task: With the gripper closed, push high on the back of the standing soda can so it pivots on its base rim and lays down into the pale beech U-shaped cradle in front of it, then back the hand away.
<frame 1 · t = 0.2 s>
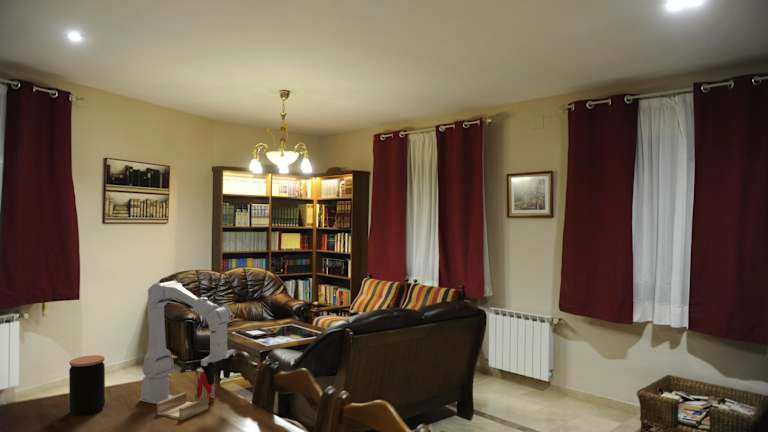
hand: (218, 380, 178), 10 cm above the table, tool pointing down, fingers open, 7 cm apart
coffee jar: (87, 411, 178), on the table
cradle: (183, 411, 177), on the table
soda can: (204, 401, 186), on the table
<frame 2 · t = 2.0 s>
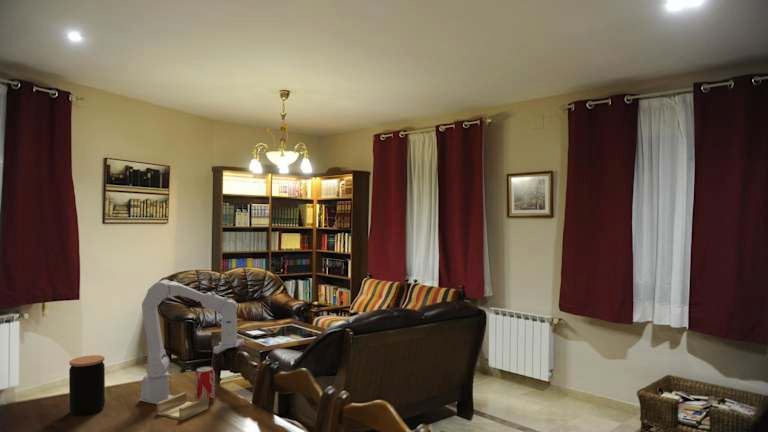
hand: (229, 367, 193), 10 cm above the table, tool pointing down, fingers closed
nothing on the table moved.
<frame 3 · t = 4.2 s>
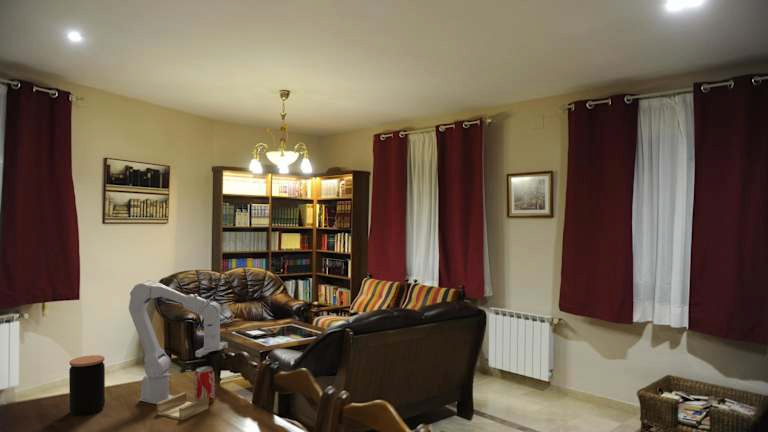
hand: (212, 371, 189), 10 cm above the table, tool pointing down, fingers closed, pressing on soda can
soda can: (205, 401, 186), on the table, touching gripper
everything else where it was.
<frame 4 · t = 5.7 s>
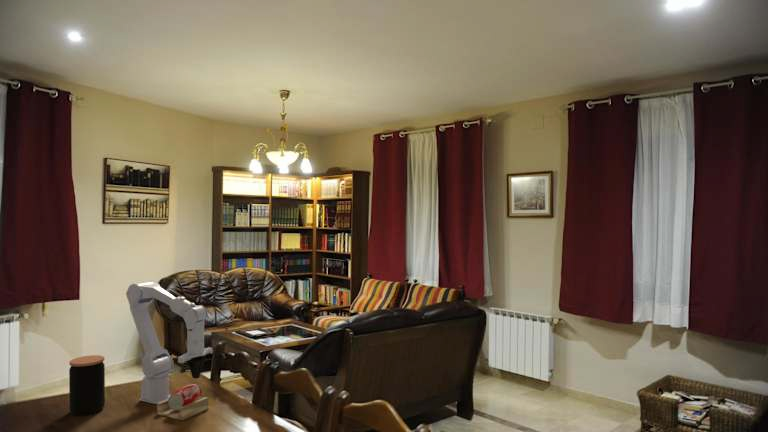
hand: (195, 377, 182), 10 cm above the table, tool pointing down, fingers closed
soda can: (194, 392, 185), point 4 cm above the table, touching cradle
everything else where it was.
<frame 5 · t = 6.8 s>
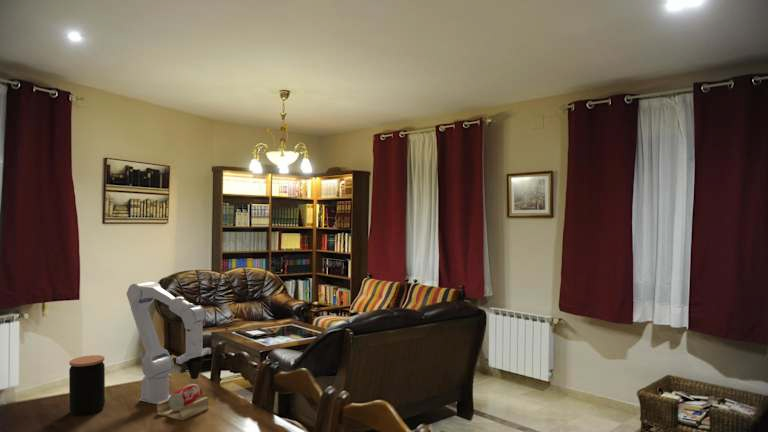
hand: (194, 378, 182), 10 cm above the table, tool pointing down, fingers closed
nothing on the table moved.
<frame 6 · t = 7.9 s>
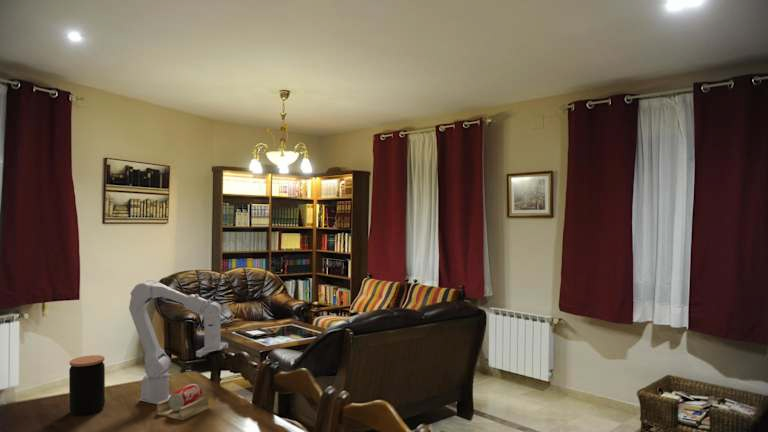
hand: (212, 371, 190), 10 cm above the table, tool pointing down, fingers closed
nothing on the table moved.
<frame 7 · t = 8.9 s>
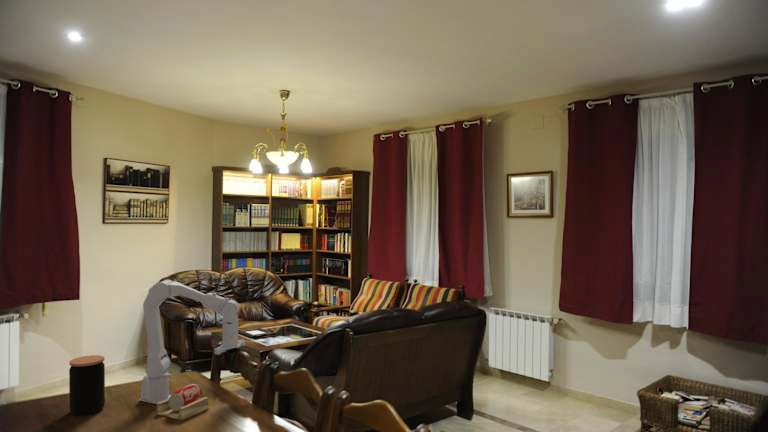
hand: (230, 368, 191), 10 cm above the table, tool pointing down, fingers closed
nothing on the table moved.
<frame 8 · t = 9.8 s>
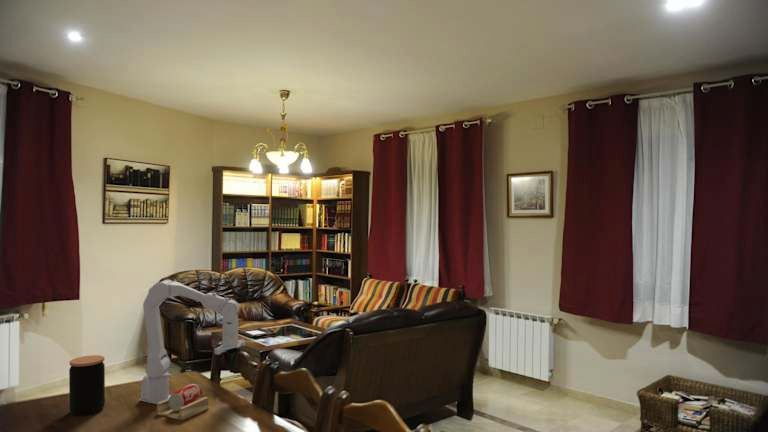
hand: (230, 368, 191), 10 cm above the table, tool pointing down, fingers closed
nothing on the table moved.
at the end: soda can tilted 86°; soda can inside the target area on the cradle (5.1 cm from its centre), point 3.8 cm above the cradle's base; soda can touching cradle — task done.
